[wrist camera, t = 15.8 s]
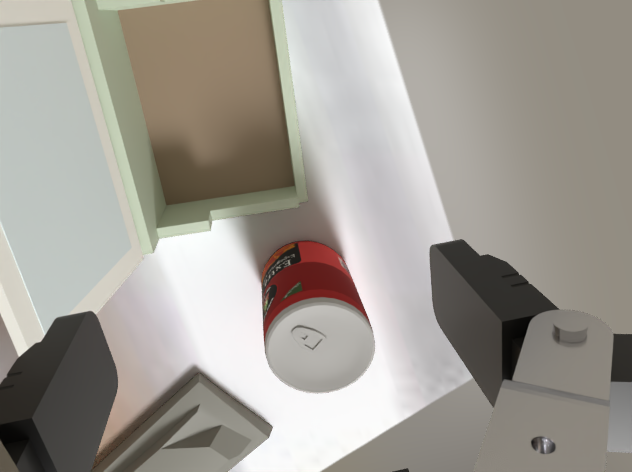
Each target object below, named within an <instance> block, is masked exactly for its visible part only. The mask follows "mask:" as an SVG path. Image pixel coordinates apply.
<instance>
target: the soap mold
mask: <svg viewBox="0 0 632 472" xmlns="http://www.w3.org/2000/svg"><path fill="white" fill-rule="evenodd" d="M272 428H273V427H272V426H271V425H269V424H268V423H267V422H265V421H264V420H262V419H261V418H260V417H258V416H257V415H256V414H254V413H253V412H251V411H250V410H249V409H247V408H246V407H244V406H243V405H242V404H240V403H239V402H238V401H236V400H235V399H233V398H232V397H231V396H229V395H228V394H226V393H225V392H224V391H222V390H221V389H220V388H218V387H217V386H216V385H214V384H213V383H212V382H211V381H209V380H208V379H207V378H205V377H204V376H203V375H202V374H200V373H198V374H197V375H195V376H194V377H193V378H192V379H191V380H190V381H189V382H188V383H187V384H186V385H185V386H183V387H182V388H181V389H180V390H179V391H178V392H177V393H176V394H175V395H174V396H172V397H171V398H170V399H169V400H168V401H167V402H166V403H165V404H164V405H163V406H162V407H160V408H159V409H158V410H157V411H156V412H155V413H154V414H153V415H152V416H151V417H149V418H148V419H147V420H146V421H145V422H144V423H143V424H142V425H141V426H140V427H139V428H137V429H136V430H135V431H134V432H133V433H132V434H131V435H130V436H129V437H128V438H126V439H125V440H124V441H123V442H122V443H121V444H120V445H119V446H118V447H117V448H116V449H114V450H113V451H112V452H111V453H110V454H109V455H108V456H107V457H106V458H105V459H104V460H102V461H101V462H100V463H99V464H98V465H97V466H96V467H95V468H94V469H93V470H92V471H91V472H228V471H229V470H230V469H232V468H233V467H234V466H235V465H236V464H238V463H239V462H240V461H241V460H242V459H244V458H245V457H246V456H247V455H248V454H250V453H251V452H252V451H253V450H255V449H256V448H257V447H258V446H259V445H261V444H262V443H263V442H264V441H265V440H267V439H268V438H269V436H270V433H271V431H272Z"/></svg>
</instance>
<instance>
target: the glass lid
mask: <svg viewBox="0 0 632 472" xmlns="http://www.w3.org/2000/svg"><path fill="white" fill-rule="evenodd" d="M143 259H144V257H143V253H142V250H141V246H140V243H139V239H138V236H137V232H136V228H135V225H134V221H133V218H132V214H131V211H130V207H129V204H128V200H127V197H126V193H125V190H124V186H123V183H122V179H121V175H120V172H119V168H118V165H117V161H116V158H115V154H114V151H113V147H112V144H111V140H110V137H109V133H108V129H107V126H106V122H105V119H104V115H103V112H102V108H101V105H100V101H99V98H98V94H97V91H96V87H95V84H94V80H93V76H92V73H91V69H90V66H89V62H88V59H87V55H86V52H85V48H84V45H83V41H82V38H81V34H80V31H79V27H78V23H77V20H76V16H75V13H74V9H73V6H72V2H71V0H0V314H1V316H2V319H3V321H4V323H5V326H6V328H7V330H8V333H9V335H10V337H11V340H12V342H13V344H14V347H15V349H16V351H17V353H18V356H19V357H20V356H21V355H22V354H23V353H24V352H25V351H27V350H28V349H29V348H30V347H31V346H33V345H34V344H35V343H38V342H41V341H42V339H43V338H44V336H45V334H46V333H47V331H48V330H49V328H50V326H51V325H52V323H53V321H54V320H55V319H56V318H57V317H61V316H66V315H71V314H76V313H82V312H87V311H92V312H94V313H95V315H96V314H97V313H98V312H99V310H100V309H101V308H102V307H103V306H104V305H105V303H106V302H107V301H108V300H109V299H110V298H111V296H112V295H113V294H114V293H115V292H116V291H117V289H118V288H119V287H120V286H121V285H122V284H123V283H124V281H125V280H126V279H127V278H128V277H129V276H130V274H131V273H132V272H133V271H134V270H135V269H136V267H137V266H138V265H139V264H140V263H141V262H142V260H143Z"/></svg>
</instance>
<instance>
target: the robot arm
mask: <svg viewBox="0 0 632 472" xmlns="http://www.w3.org/2000/svg"><path fill="white" fill-rule="evenodd" d="M430 270H431V285H432V301H433V308H434V312H435V316H436V319H437V322H438V324H439V326H440V328H441V329H442V331H443V332H444V334H445V335H446V337H447V338H448V340H449V341H450V343H451V344H452V346H453V347H454V349H455V350H456V352H457V353H458V355H459V356H460V358H461V359H462V361H463V362H464V364H465V366H466V367H467V369H468V370H469V372H470V373H471V375H472V376H473V378H474V379H475V381H476V382H477V384H478V385H479V387H480V388H481V390H482V391H483V393H484V394H485V396H486V397H487V399H488V400H489V402H490V403H491V405H492V406H493V408H494V410H493V412H492V416H491V418H490V422H489V425H488V428H487V431H486V434H485V437H484V440H483V443H482V446H481V449H480V452H479V455H478V458H477V461H476V465H475V468H474V471H473V472H605V471H606V456H607V451H610V452H628V453H630V452H631V453H632V334H613V332H612V329H611V328H610V327H609V326H608V325H607V324H606V323H605V322H604V321H602V320H601V319H599V318H597V317H595V316H593V315H590V314H588V313H584V312H579V311H575V310H560V309H558V308H557V307H556V306H555V305H554V304H553V303H552V302H551V301H550V300H548V299H547V298H546V297H545V296H544V295H543V294H542V293H541V292H539V291H538V290H537V289H536V288H535V287H534V286H533V285H531V284H529V283H528V281H527V280H526V279H525V278H524V277H523V276H522V275H519V273H518V272H517V271H516V270H515V269H514V268H513V267H512V266H510V265H509V264H508V263H507V262H505V261H503V260H500V259H498V258H495V257H493V256H491V255H482V256H480V255H479V254H478V253H477V252H476V251H474V250H473V249H472V248H471V247H470V246H469V245H468V244H467V243H466V242H465V241H464V240H462V239H460V240H455V241H450V242H445V243H440V244H435V245H432V246H431V247H430ZM117 388H118V377H117V370H116V366H115V363H114V360H113V358H112V355H111V352H110V350H109V347H108V344H107V342H106V339H105V336H104V333H103V331H102V328H101V325H100V323H99V320H98V318H97V316H96V315H95V313H94V312H92V311H87V312H82V313H76V314H71V315H66V316H61V317H57V318H56V319H55V320H54V321H53V323H52V325H51V326H50V328H49V330H48V331H47V333H46V334H45V336H44V338H43V339H42V341H41V342H38V343H35V344H34V345H33V346H31V347H30V348H29V349H28V350H27V351H25V352H24V353H23V354H22V355H21V356H20V357H19V356H18V353H17V351H16V349H15V347H14V344H13V342H12V340H11V337H10V335H9V333H8V330H7V328H6V326H5V323H4V321H3V319H2V316H1V314H0V472H91V469H92V466H93V463H94V460H95V457H96V454H97V451H98V448H99V445H100V442H101V439H102V436H103V433H104V430H105V427H106V424H107V421H108V418H109V415H110V412H111V409H112V406H113V402H114V399H115V396H116V393H117ZM394 472H409V470H408V469H403V470H398V471H394Z"/></svg>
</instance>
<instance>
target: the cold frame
mask: <svg viewBox="0 0 632 472" xmlns="http://www.w3.org/2000/svg"><path fill="white" fill-rule="evenodd" d="M71 2H72V6H73V9H74V13H75V16H76V20H77V23H78V27H79V31H80V34H81V38H82V41H83V45H84V48H85V52H86V55H87V59H88V62H89V66H90V69H91V73H92V76H93V80H94V84H95V87H96V91H97V94H98V98H99V101H100V105H101V108H102V112H103V115H104V119H105V122H106V126H107V129H108V133H109V137H110V140H111V144H112V147H113V151H114V154H115V158H116V161H117V165H118V168H119V172H120V175H121V179H122V183H123V186H124V190H125V193H126V197H127V200H128V204H129V207H130V211H131V214H132V218H133V221H134V225H135V228H136V232H137V236H138V239H139V243H140V246H141V250H142V253H143V255H145V254H152V253H154V250H155V248H156V245H157V243H158V240H159V239H160V238H167V237H173V236H179V235H186V234H192V233H199V232H205V231H211V225H212V221H213V220H220V219H226V218H233V217H239V216H246V215H252V214H259V213H265V212H272V211H278V210H285V209H291V208H298V207H299V203H301V202H307V201H308V195H307V188H306V180H305V173H304V165H303V158H302V150H301V142H300V135H299V127H298V120H297V112H296V105H295V97H294V90H293V82H292V74H291V67H290V59H289V52H288V44H287V37H286V29H285V22H284V14H283V6H282V0H71Z"/></svg>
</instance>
